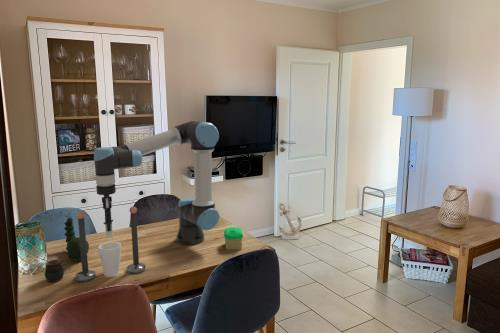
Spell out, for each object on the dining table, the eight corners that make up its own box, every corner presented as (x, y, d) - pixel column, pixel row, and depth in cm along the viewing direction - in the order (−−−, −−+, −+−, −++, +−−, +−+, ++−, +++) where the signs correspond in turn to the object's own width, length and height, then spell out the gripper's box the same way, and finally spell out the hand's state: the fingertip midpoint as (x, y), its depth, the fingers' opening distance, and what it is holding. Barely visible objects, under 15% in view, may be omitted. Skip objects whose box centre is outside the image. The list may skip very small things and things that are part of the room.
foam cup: (100, 280, 161) (98, 251, 159) (99, 271, 170) (97, 243, 167) (124, 276, 165) (122, 247, 163) (121, 267, 173) (120, 240, 171)
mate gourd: (66, 274, 166) (64, 253, 164) (61, 283, 159) (59, 261, 157) (49, 275, 165) (46, 254, 163) (42, 284, 157) (40, 262, 155)
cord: (139, 264, 173) (136, 205, 168) (140, 267, 170) (137, 207, 165) (132, 265, 172) (128, 206, 167) (132, 268, 169) (129, 208, 164)
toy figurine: (61, 254, 192) (72, 267, 172) (57, 217, 190) (68, 226, 170) (81, 249, 197) (94, 262, 177) (77, 214, 195) (90, 222, 175)
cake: (224, 250, 192) (224, 232, 191) (223, 242, 203) (223, 225, 201) (243, 250, 193) (243, 231, 192) (242, 242, 204) (242, 224, 202)
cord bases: (144, 264, 176) (144, 261, 176) (146, 272, 169) (146, 268, 168) (76, 275, 166) (75, 271, 165) (75, 283, 158) (74, 279, 158)
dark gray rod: (89, 271, 165) (84, 210, 160) (89, 274, 162) (84, 212, 157) (81, 272, 164) (76, 211, 159) (81, 276, 161) (76, 213, 156)
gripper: (96, 181, 165) (100, 233, 169) (96, 188, 153) (100, 243, 157) (114, 180, 167) (117, 231, 172) (115, 186, 155) (119, 241, 160)
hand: (109, 237), depth 164 cm, fingers closed
